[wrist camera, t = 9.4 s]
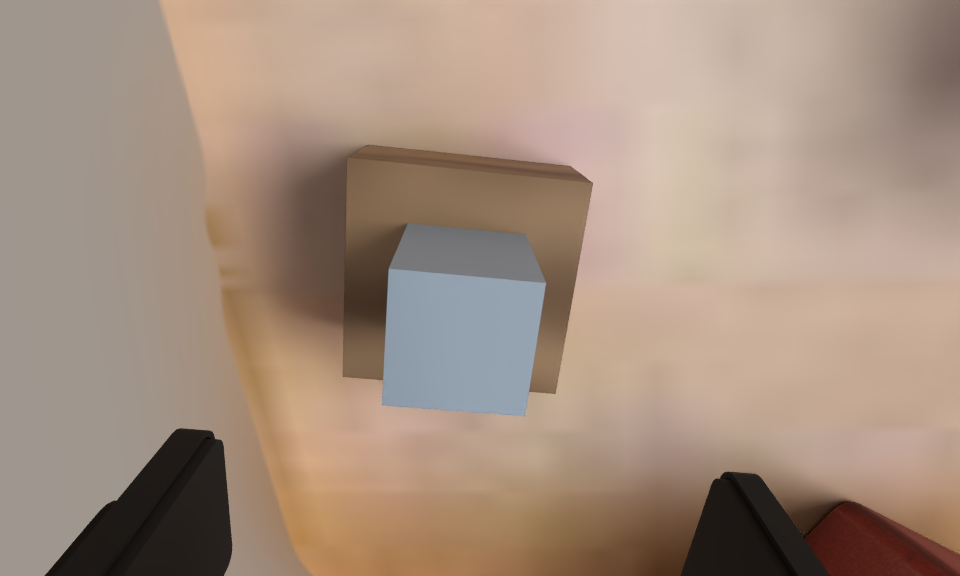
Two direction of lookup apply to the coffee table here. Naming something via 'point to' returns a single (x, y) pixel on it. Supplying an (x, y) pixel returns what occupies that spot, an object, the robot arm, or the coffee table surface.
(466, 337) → the slate block
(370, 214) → the walnut plinth
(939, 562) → the plant pot
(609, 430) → the coffee table surface
